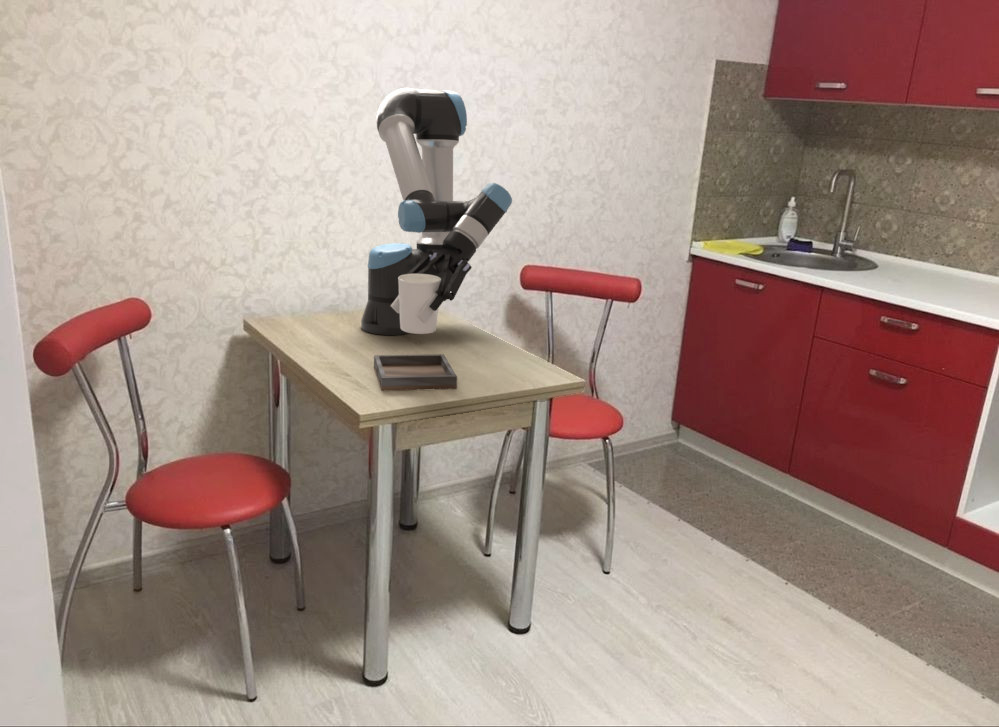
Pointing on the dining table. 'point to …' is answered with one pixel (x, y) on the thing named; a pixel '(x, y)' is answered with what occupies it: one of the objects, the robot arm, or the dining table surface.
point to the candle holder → (416, 302)
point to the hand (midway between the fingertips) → (407, 314)
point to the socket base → (414, 372)
